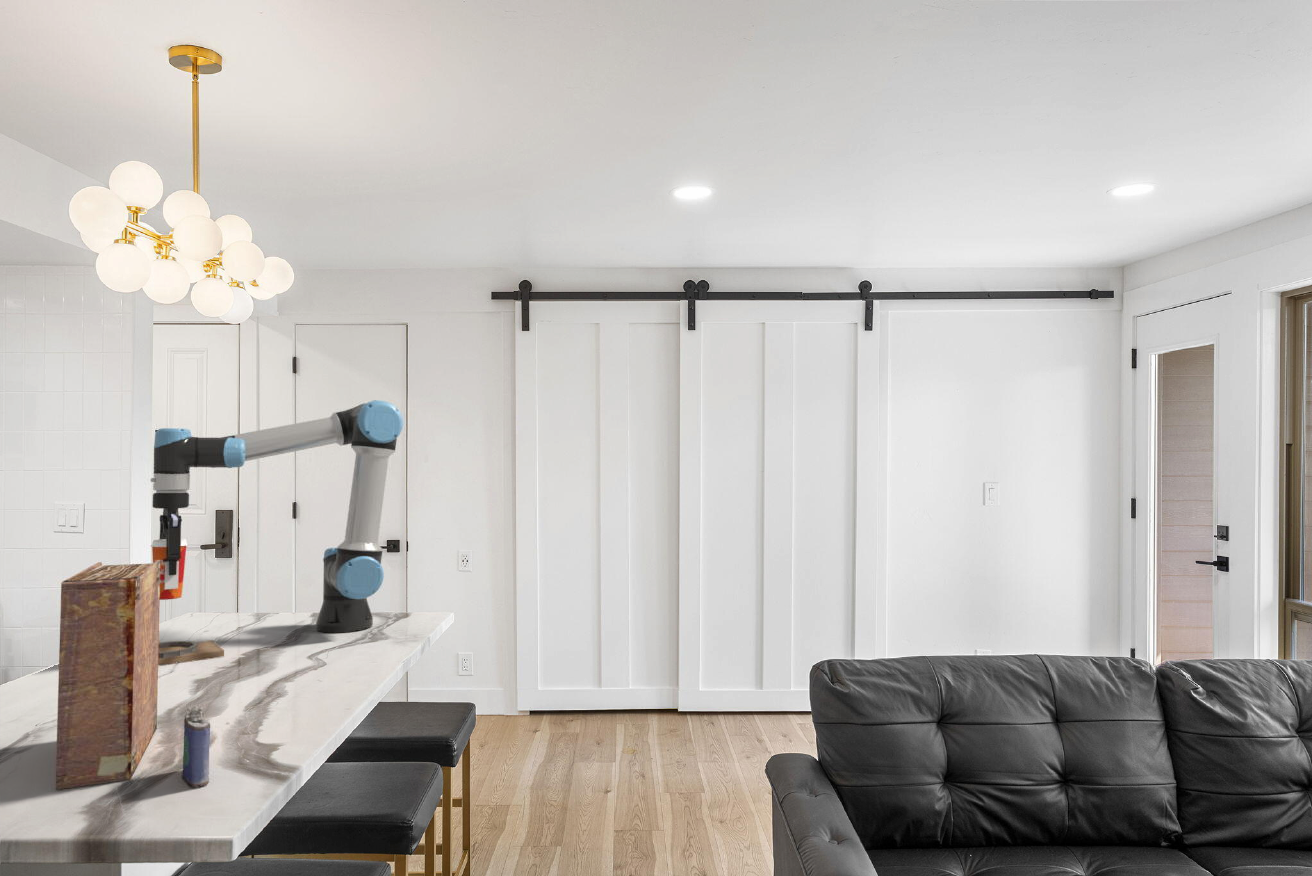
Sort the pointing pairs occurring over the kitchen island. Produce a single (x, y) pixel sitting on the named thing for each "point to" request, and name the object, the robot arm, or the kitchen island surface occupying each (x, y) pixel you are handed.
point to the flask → (196, 748)
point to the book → (107, 672)
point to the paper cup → (160, 554)
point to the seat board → (187, 651)
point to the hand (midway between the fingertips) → (168, 586)
